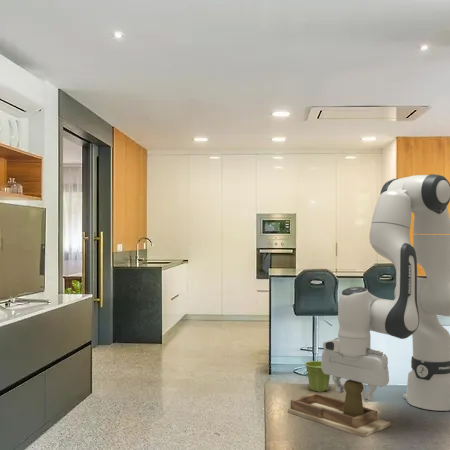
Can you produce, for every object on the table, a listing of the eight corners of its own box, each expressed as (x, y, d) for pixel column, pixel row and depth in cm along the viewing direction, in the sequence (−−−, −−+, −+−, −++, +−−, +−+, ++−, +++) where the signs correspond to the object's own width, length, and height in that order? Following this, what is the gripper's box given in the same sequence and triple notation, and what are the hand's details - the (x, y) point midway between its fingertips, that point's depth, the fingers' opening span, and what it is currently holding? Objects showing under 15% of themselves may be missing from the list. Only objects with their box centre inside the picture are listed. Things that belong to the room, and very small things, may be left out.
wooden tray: (315, 403, 169) (315, 392, 169) (390, 425, 150) (390, 412, 150) (287, 412, 160) (288, 400, 161) (363, 437, 141) (363, 423, 141)
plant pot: (304, 385, 190) (304, 360, 190) (332, 386, 189) (332, 361, 189) (304, 392, 181) (304, 366, 181) (333, 394, 179) (333, 367, 179)
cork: (365, 424, 148) (365, 384, 148) (342, 423, 149) (342, 382, 149) (364, 417, 153) (364, 378, 154) (342, 415, 155) (342, 377, 155)
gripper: (393, 350, 146) (393, 402, 146) (331, 339, 161) (331, 386, 161) (380, 353, 142) (380, 407, 141) (318, 342, 157) (317, 390, 157)
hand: (353, 396), depth 151 cm, fingers open, 8 cm apart
